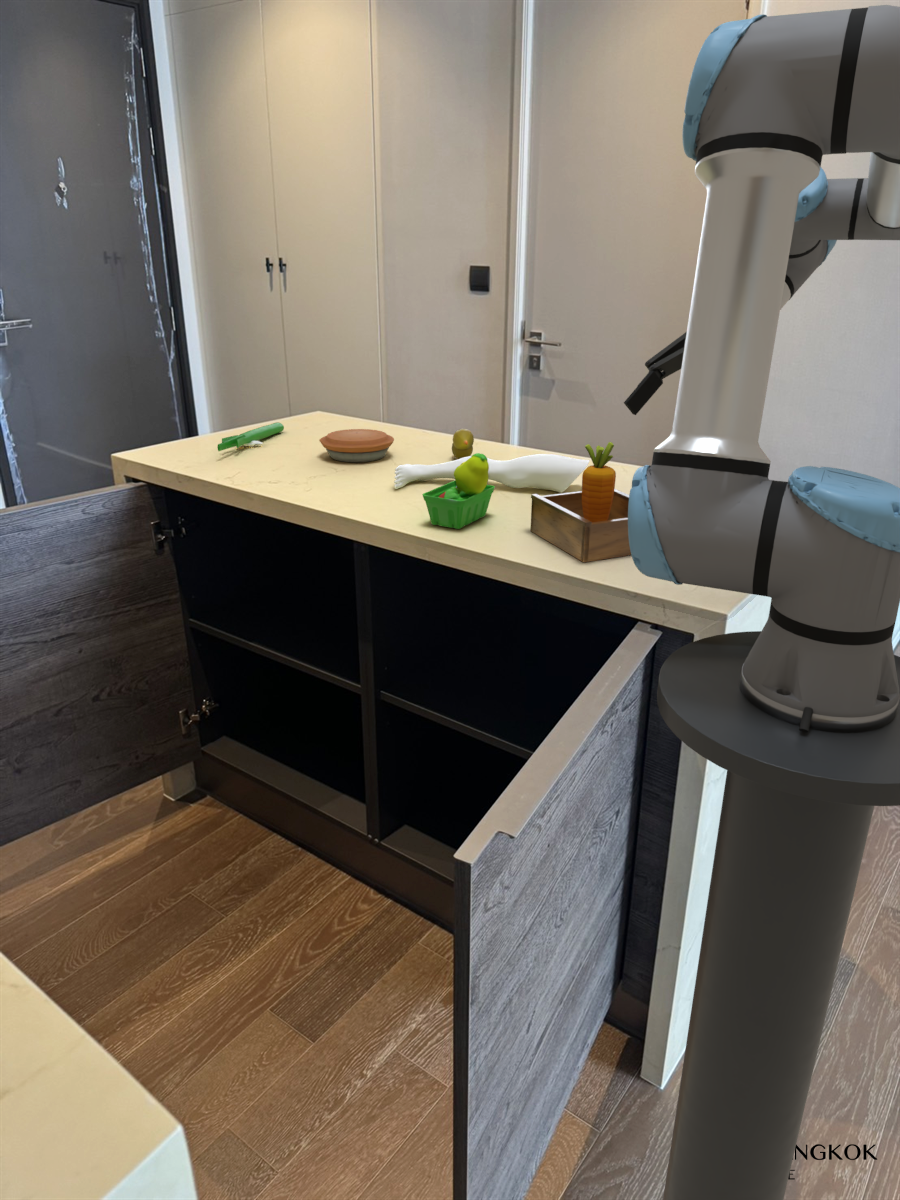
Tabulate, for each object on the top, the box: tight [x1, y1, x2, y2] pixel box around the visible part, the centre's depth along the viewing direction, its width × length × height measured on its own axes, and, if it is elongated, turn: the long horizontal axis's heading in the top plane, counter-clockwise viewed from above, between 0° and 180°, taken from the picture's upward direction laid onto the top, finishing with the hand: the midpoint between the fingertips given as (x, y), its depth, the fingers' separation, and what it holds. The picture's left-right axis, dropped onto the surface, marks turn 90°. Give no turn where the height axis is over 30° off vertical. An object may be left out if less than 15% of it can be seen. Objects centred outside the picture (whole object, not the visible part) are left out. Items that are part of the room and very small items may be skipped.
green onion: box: [217, 422, 285, 452], centre depth 190 cm, size 5×3×30 cm
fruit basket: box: [422, 452, 496, 530], centre depth 137 cm, size 11×9×11 cm
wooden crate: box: [530, 488, 632, 563], centre depth 129 cm, size 16×14×6 cm
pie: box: [318, 428, 395, 463], centre depth 180 cm, size 15×16×5 cm
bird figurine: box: [451, 428, 475, 460], centre depth 178 cm, size 4×15×6 cm, turn 6°
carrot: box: [581, 441, 617, 522], centre depth 128 cm, size 5×5×15 cm
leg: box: [393, 453, 590, 494], centre depth 157 cm, size 7×35×10 cm
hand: (655, 416), depth 127 cm, fingers open, 13 cm apart
